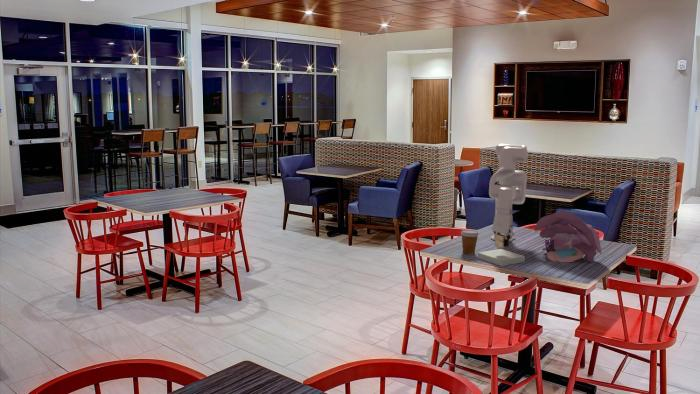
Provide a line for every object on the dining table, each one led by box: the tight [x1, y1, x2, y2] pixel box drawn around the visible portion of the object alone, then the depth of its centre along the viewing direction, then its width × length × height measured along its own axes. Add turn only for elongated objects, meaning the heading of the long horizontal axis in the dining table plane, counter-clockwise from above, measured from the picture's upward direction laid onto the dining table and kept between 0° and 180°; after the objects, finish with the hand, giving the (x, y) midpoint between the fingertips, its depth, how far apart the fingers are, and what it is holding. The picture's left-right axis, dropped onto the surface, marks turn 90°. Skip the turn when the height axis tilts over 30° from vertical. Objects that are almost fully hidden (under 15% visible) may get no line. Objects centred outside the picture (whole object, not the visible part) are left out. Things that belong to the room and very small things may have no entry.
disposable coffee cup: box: [460, 229, 479, 255], centre depth 339 cm, size 10×10×12 cm
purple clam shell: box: [534, 210, 602, 263], centre depth 332 cm, size 35×24×28 cm
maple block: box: [494, 234, 510, 249], centre depth 325 cm, size 5×5×6 cm
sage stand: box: [477, 248, 526, 267], centre depth 327 cm, size 17×17×3 cm
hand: (501, 245), depth 326 cm, fingers closed on maple block, 4 cm apart
